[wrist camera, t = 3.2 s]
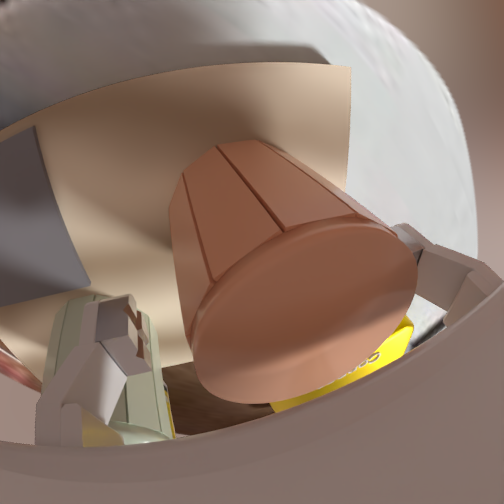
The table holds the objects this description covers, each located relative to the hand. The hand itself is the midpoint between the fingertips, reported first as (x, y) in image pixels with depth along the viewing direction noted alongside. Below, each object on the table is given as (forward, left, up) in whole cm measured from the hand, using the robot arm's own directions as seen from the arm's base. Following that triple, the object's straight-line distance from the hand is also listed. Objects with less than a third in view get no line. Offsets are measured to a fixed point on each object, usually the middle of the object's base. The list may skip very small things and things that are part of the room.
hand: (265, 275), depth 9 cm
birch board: (-2, +5, -6) cm, 9 cm away
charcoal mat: (+2, +11, -5) cm, 13 cm away
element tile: (-21, -9, -7) cm, 24 cm away
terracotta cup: (0, -1, -5) cm, 5 cm away
